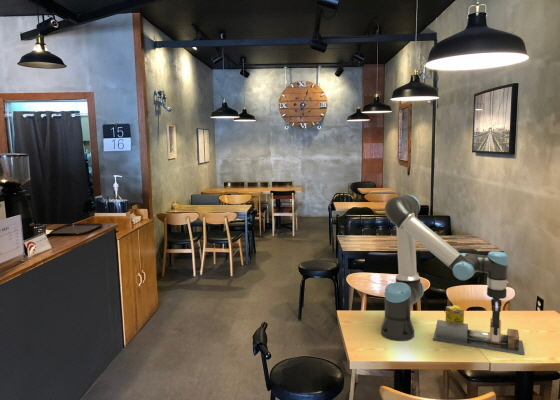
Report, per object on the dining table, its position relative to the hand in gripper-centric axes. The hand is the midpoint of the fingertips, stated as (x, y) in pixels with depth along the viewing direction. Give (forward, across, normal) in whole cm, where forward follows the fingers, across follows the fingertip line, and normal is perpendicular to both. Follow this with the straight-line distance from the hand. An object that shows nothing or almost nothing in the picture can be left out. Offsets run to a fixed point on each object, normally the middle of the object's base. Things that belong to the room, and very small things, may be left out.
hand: (495, 338), depth 185 cm
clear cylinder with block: (+1, 0, +4) cm, 4 cm away
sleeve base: (+3, 0, +7) cm, 8 cm away
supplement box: (+3, +10, +17) cm, 20 cm away
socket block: (+1, 0, -7) cm, 7 cm away
